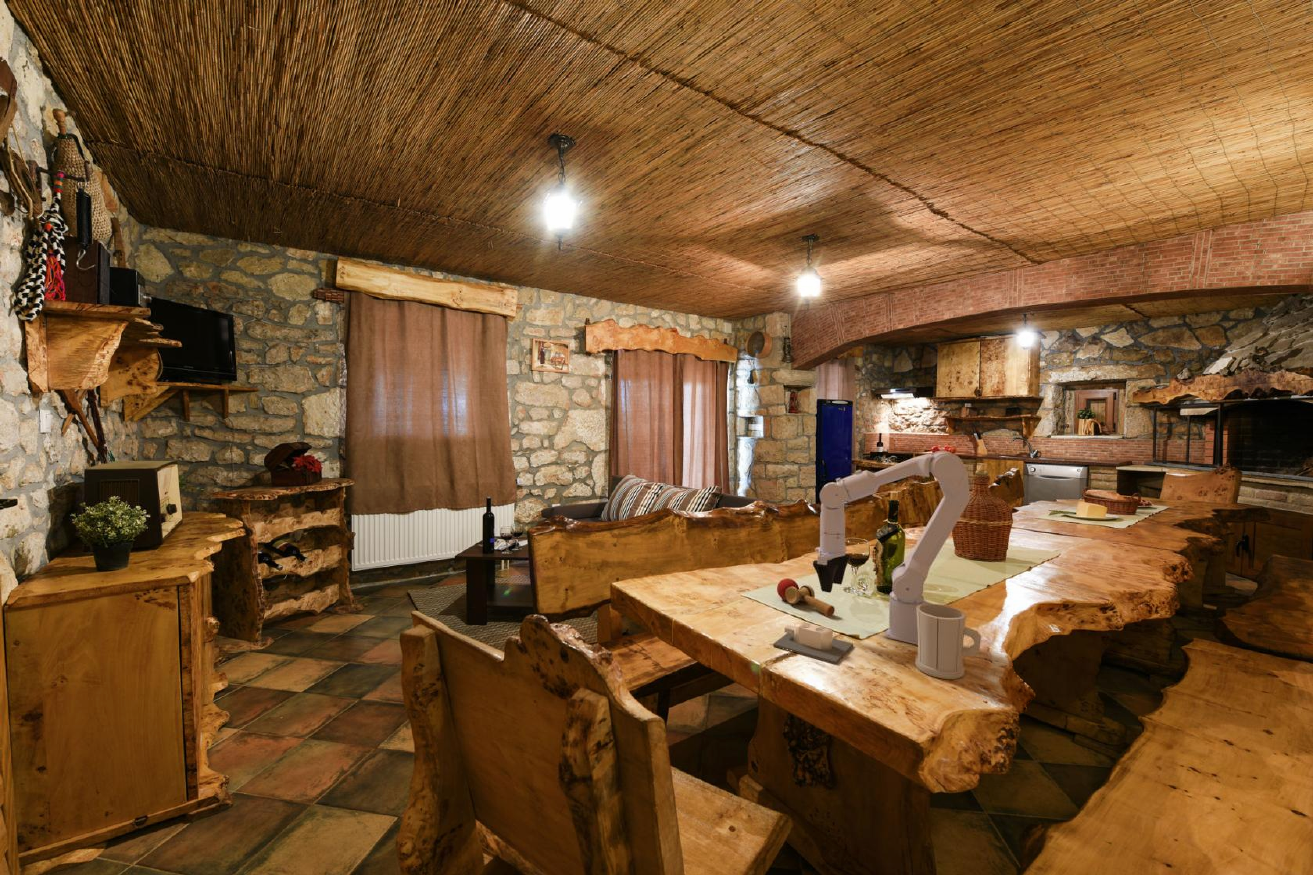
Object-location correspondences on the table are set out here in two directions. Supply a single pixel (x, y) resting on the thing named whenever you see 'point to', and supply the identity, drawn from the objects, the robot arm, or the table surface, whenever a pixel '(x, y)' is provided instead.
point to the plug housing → (811, 635)
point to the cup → (943, 641)
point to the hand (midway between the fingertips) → (831, 587)
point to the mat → (815, 649)
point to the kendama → (802, 596)
